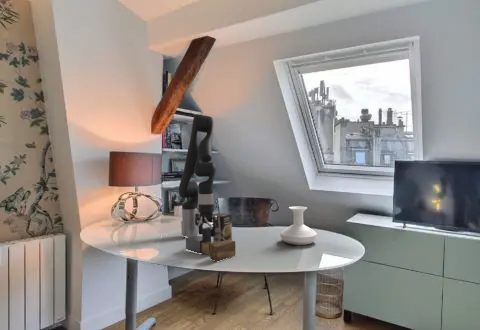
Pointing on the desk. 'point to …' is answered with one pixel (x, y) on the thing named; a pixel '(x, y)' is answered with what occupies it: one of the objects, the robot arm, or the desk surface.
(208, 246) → the tan and grey block
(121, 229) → the desk surface
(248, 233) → the desk surface
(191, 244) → the grey rectangular box
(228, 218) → the coffee box
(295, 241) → the white vase
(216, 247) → the socket
